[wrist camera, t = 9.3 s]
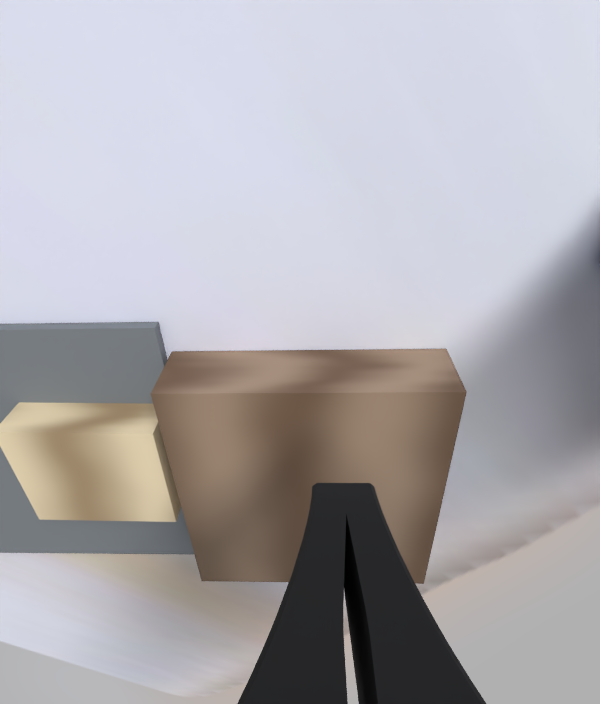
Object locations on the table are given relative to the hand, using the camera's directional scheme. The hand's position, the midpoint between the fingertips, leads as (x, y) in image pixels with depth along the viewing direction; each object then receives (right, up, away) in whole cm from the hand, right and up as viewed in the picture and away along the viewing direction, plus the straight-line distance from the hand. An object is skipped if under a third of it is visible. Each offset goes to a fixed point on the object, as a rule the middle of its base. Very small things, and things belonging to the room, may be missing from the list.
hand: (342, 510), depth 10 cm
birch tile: (-11, -1, +12) cm, 16 cm away
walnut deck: (0, -2, +12) cm, 12 cm away
